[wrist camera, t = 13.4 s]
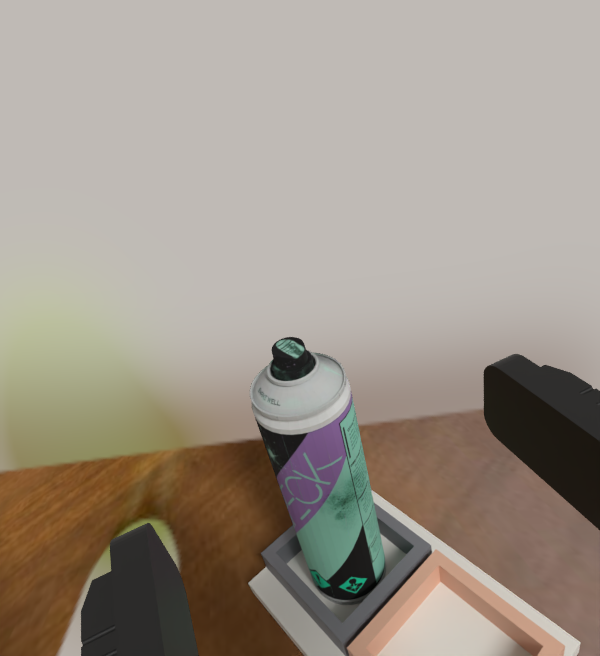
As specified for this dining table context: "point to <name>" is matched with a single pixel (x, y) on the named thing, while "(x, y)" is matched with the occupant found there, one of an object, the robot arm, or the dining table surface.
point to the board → (405, 603)
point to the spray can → (320, 468)
